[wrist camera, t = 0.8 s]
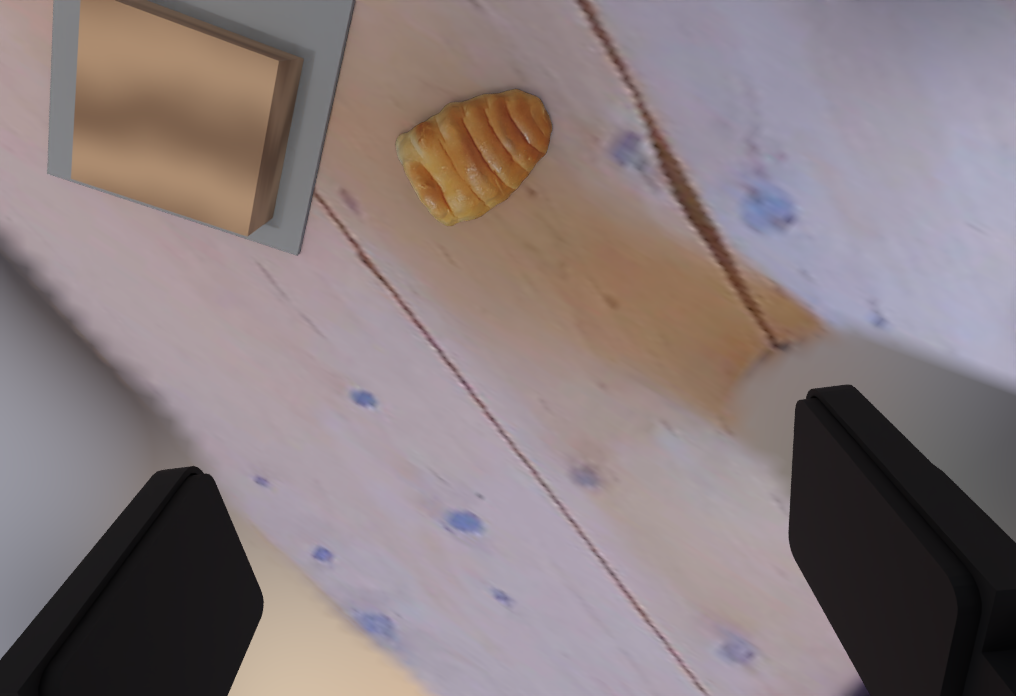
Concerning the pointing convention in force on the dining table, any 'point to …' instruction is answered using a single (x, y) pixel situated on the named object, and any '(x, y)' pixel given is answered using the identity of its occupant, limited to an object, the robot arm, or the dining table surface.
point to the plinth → (182, 112)
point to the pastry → (474, 153)
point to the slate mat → (263, 7)
